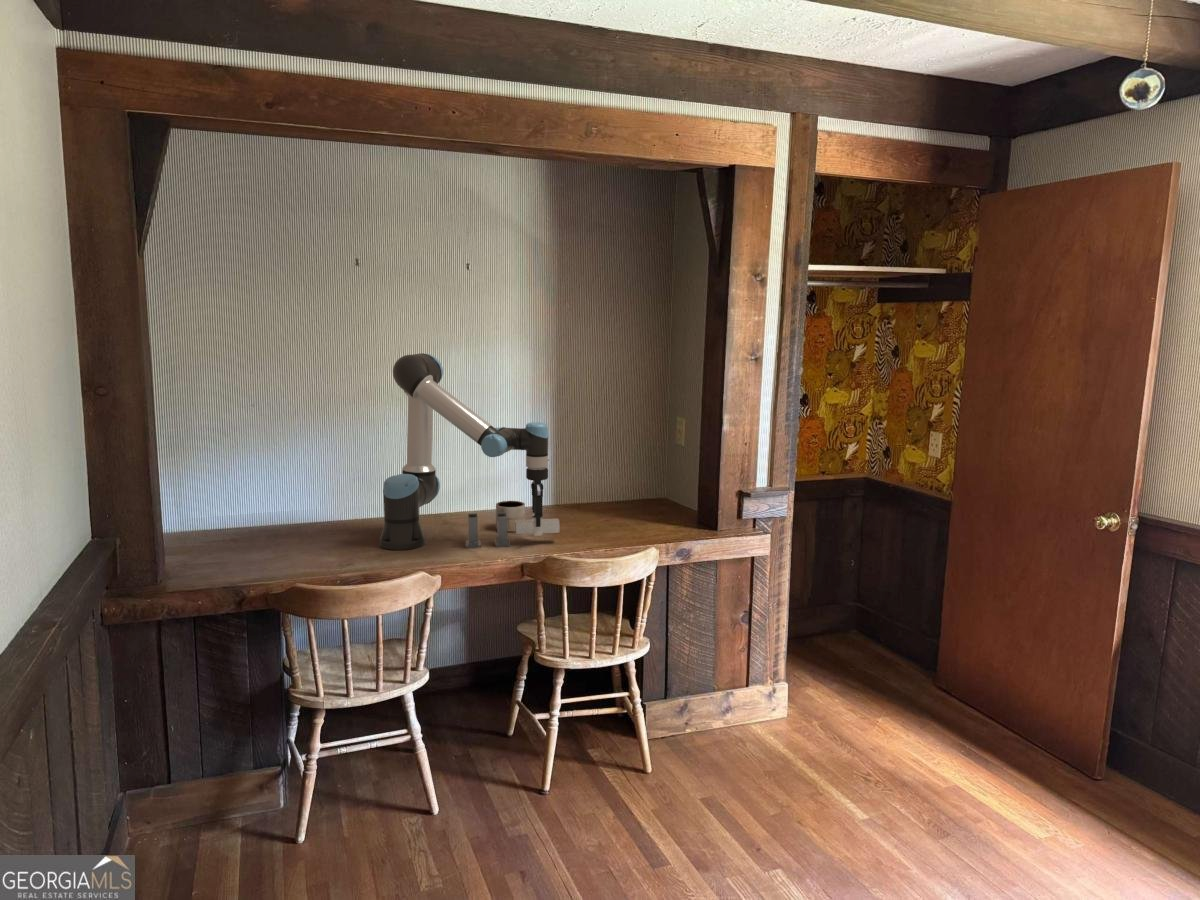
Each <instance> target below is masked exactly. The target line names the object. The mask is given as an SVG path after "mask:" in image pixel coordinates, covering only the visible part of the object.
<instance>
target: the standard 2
mask: <svg viewBox="0 0 1200 900" xmlns="http://www.w3.org/2000/svg"><path fill="white" fill-rule="evenodd" d="M497 524H498V530H497V538H496V539H494V545H495V546H494V547H495V548H509V547H511V542H510V539H509V538H508V532H507V517H506V513H497Z"/></svg>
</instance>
